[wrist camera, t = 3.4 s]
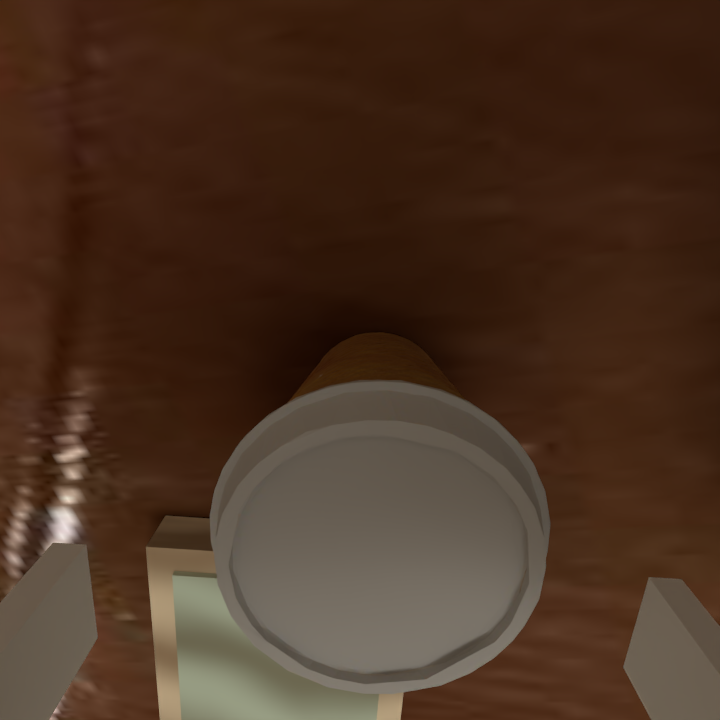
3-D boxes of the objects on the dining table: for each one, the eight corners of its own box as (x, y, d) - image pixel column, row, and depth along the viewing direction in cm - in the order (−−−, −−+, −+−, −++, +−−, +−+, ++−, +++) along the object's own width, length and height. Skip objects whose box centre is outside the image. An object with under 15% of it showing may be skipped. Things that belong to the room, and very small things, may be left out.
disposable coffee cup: (295, 491, 27) (236, 718, 15) (259, 310, 24) (155, 423, 12) (482, 472, 26) (567, 694, 15) (470, 284, 23) (564, 378, 12)
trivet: (165, 515, 27) (143, 550, 25) (414, 531, 27) (418, 569, 25) (177, 700, 31) (159, 747, 29) (394, 715, 31) (396, 764, 29)
